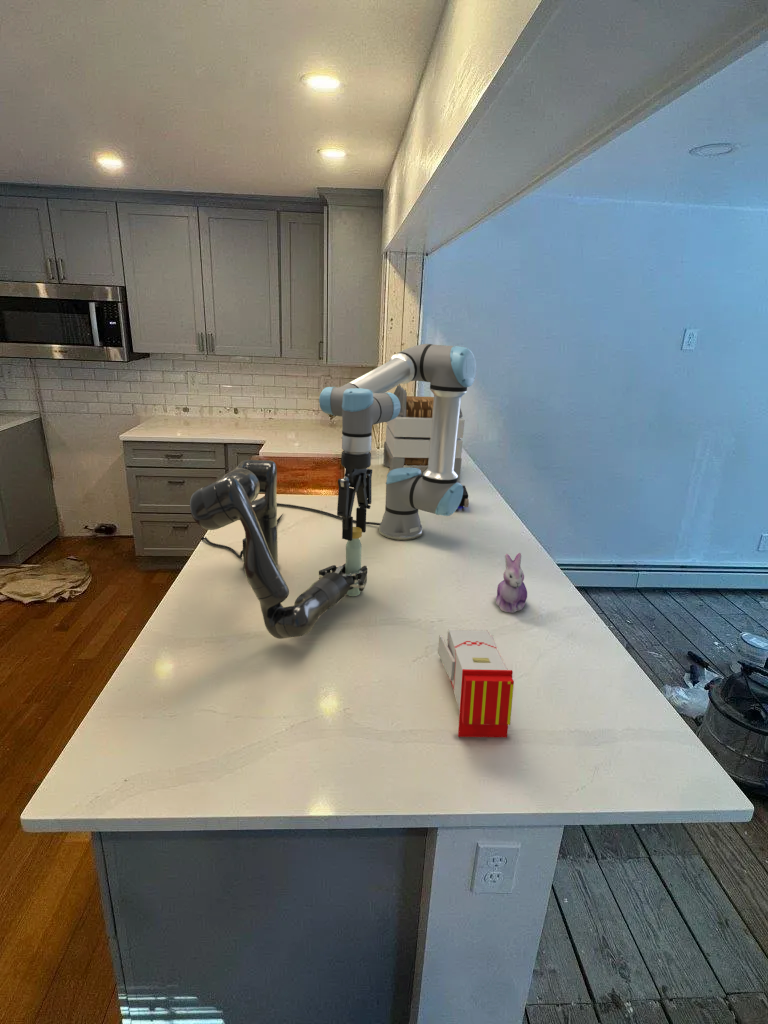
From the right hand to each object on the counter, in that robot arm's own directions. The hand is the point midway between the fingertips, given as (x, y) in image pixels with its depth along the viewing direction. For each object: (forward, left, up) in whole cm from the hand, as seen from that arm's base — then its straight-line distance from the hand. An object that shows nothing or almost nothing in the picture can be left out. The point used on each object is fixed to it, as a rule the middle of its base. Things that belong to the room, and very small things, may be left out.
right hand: (354, 535), depth 152 cm
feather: (-62, +14, -17) cm, 66 cm away
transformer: (-78, +101, -17) cm, 128 cm away
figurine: (+31, +30, -17) cm, 47 cm away
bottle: (0, 0, -17) cm, 17 cm away
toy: (+49, -7, -17) cm, 52 cm away
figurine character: (-33, +79, -17) cm, 88 cm away
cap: (0, 0, +1) cm, 1 cm away
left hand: (-1, +2, -11) cm, 11 cm away
